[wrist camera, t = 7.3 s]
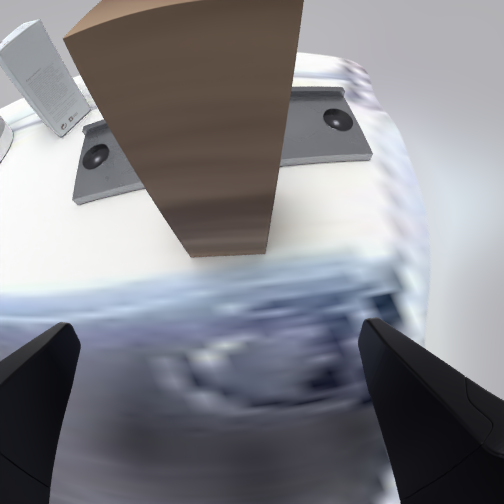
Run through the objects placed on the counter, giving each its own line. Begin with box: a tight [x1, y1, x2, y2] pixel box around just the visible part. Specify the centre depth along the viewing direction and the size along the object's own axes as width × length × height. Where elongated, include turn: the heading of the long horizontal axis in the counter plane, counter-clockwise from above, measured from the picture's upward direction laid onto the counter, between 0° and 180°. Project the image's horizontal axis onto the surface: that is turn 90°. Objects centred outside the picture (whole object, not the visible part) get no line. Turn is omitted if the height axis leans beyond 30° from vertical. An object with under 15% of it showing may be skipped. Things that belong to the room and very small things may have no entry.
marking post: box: [63, 0, 304, 257], centre depth 9 cm, size 4×4×16 cm
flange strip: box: [72, 87, 373, 205], centre depth 18 cm, size 22×7×1 cm, turn 99°
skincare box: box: [0, 19, 90, 137], centre depth 15 cm, size 6×4×12 cm
